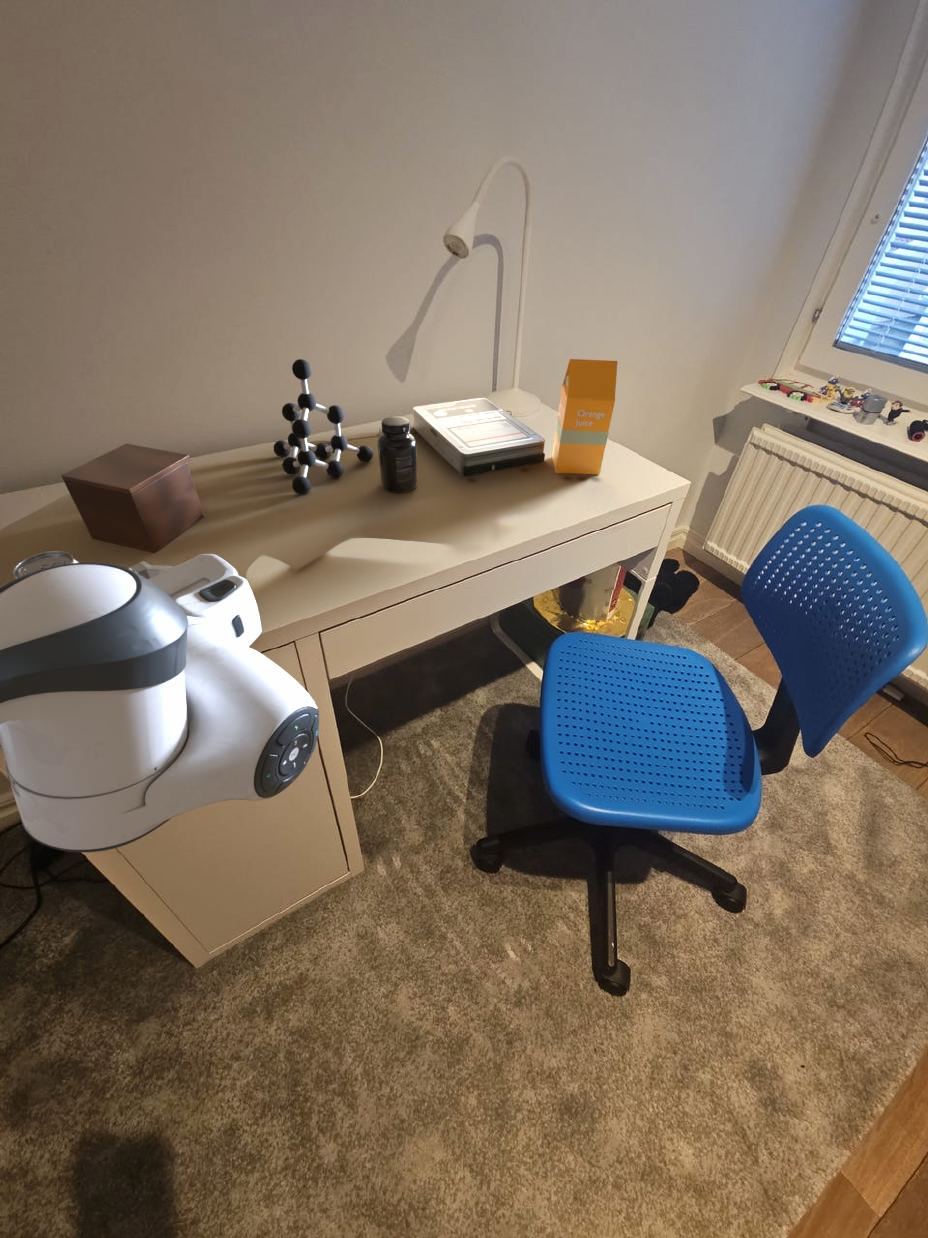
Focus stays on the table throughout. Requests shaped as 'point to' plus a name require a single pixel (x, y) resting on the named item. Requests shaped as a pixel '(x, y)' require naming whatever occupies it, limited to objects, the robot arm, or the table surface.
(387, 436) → the supplement bottle
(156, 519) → the box
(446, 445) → the hard drive
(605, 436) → the orange juice
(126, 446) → the lid
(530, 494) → the table surface
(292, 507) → the table surface
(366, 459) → the molecular model
